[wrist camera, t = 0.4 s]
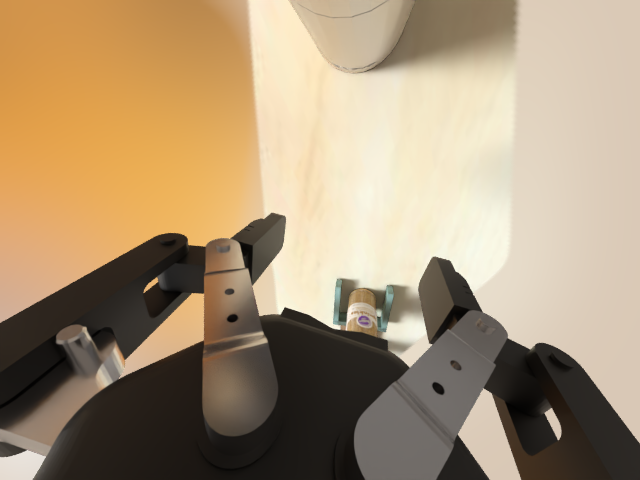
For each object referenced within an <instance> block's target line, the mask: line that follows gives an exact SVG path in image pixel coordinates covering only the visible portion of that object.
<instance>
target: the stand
mask: <svg viewBox="0 0 640 480" xmlns="http://www.w3.org/2000/svg"><path fill="white" fill-rule="evenodd" d="M341 286H342V280H340V279H337V282H336V288H335V303H334V318H333V324H336V325H341V330H346V322H347V314H346V313H339V311H340V298H341ZM393 296H394V292H393V286H388V285H387V289H386V294H385V299H384V304H383V309H382V314H381V318H377V328H378V329H377V331H382V332H386V329H387V324H388V319H389V315H390V310H391V306H392V301H393Z"/></svg>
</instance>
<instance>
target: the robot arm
mask: <svg viewBox="0 0 640 480" xmlns="http://www.w3.org/2000/svg"><path fill="white" fill-rule="evenodd" d="M289 2H290V3H291V5H292V7H293V8H294V10H295V11H296V13H297V15H298V16H299V18H300V20H301V21H302V23H303V24H304V26H305V28H306V29H307V31H308V33H309V34H310V36H311V37H312V39H313V41H314V43H315V44H316V46H317V47H318V49H319V51H320V52H321V54H322V56H323V57H324V58H325V59H326V60H327V61H328V63H330V64H331V65H332V66H334V67H335V68H336V69H339V70H341V71H344V72H349V73H358V72H364V71H367V70H369V69H372V68H374V67H375V66H377V65H378V64H380V63H381V62H382V61H383V60H384V59H385V58H386V57H387V56H388V55H389V54H390V53H391V51H392V50H393V49H394V47H395V46H396V44H397V43H398V40H399V38H400V36H401V34H402V32H403V30H404V27H405V25H406V22H407V20H408V18H409V15H410V13H411V10H412V8H413V5H414V3H415V0H289ZM285 224H286V217H285V216H283V215H279V214H275V213H271V214H270V215H269V216H267V217H266V218H265V219H258V220H255V221H253V222H251V223H250V224H249V225H248V226H246V227H245V228H244V229H242V230H241V231H240V232H238V233H237V234H236V235H234V236H233V237H232V238H230V239H228V238H220V239H215V240H212V241H210V242H209V243H208V244H207V245H206V247H203V246H191V245H188V239H187V237H186V236H184V235H182V234H178V233H167V234H161V235H158V236H156V237H154V238H152V239H150V240H148V241H146V242H145V243H143V244H141V245H139V246H138V247H136V248H134V249H132V250H130V251H129V252H127V253H125V254H123V255H121V256H119V257H118V258H116V259H114V260H112V261H111V262H109V263H107V264H105V265H103V266H102V267H100V268H98V269H96V270H94V271H93V272H91V273H89V274H87V275H85V276H84V277H82V278H80V279H78V280H77V281H75V282H73V283H71V284H70V285H68V286H66V287H64V288H62V289H60V290H59V291H57V292H55V293H53V294H52V295H50V296H48V297H46V298H44V299H43V300H41V301H39V302H37V303H35V304H34V305H32V306H30V307H29V308H26V309H25V310H23V311H21V312H19V313H17V314H16V315H14V316H12V317H10V318H9V319H7V320H5V321H3V322H1V323H0V457H8V456H13V455H16V454H19V453H22V452H24V451H26V450H29V451H32V452H35V453H37V454H40V455H43V456H46V458H45V460H44V462H43V463H42V465H41V467H40V469H39V470H38V472H37V474H36V475H35V477H34V478H33V480H489V478H488V477H487V475H486V474H485V473H484V471H483V470H482V469H481V467H480V465H479V464H478V463H477V461H476V460H475V458H474V457H473V456H472V454H471V453H470V451H469V450H468V448H467V447H466V446H465V444H464V443H463V441H462V440H461V439H460V437H459V436H458V433H459V431H460V429H461V427H462V425H463V424H464V422H465V420H466V418H467V416H468V415H469V413H470V411H471V409H472V408H473V406H474V404H475V402H476V400H477V399H478V397H479V395H480V393H481V391H482V390H483V388H484V389H486V390H487V391H489V392H491V393H492V395H493V398H494V401H495V404H496V407H497V410H498V413H499V416H500V419H501V422H502V425H503V427H504V430H505V433H506V436H507V439H508V442H509V445H510V448H511V451H512V454H513V457H514V459H515V463H516V465H517V468H518V471H519V474H520V477H521V480H640V443H639V442H638V441H637V439H636V438H635V437H634V436H633V434H632V433H631V432H630V430H629V429H628V428H627V426H626V425H625V424H624V422H623V421H622V420H621V418H620V417H619V416H618V414H617V413H616V412H615V410H614V409H613V408H612V406H611V405H610V404H609V402H608V401H607V400H606V398H605V397H604V396H603V394H602V393H601V392H600V390H599V389H598V388H597V387H596V385H595V384H594V382H593V381H592V380H591V378H590V377H589V376H588V374H587V373H586V372H585V370H584V369H583V368H582V367H581V366H580V365H579V364H578V363H577V362H576V361H575V360H574V359H573V358H571V357H570V356H569V355H568V354H566V353H565V352H563V351H561V350H560V349H558V348H556V347H554V346H551V345H549V344H545V343H537V344H536V345H535V346H534V347H533V348H532V349H531V350H530V349H528V348H526V347H524V346H522V345H520V344H518V343H516V342H514V341H512V340H510V339H508V334H507V332H506V330H505V329H504V327H503V326H502V325H501V324H500V323H499V322H498V321H497V320H495V319H494V318H492V317H491V316H489V315H487V314H485V313H483V312H482V310H481V308H480V306H479V304H478V302H477V300H476V298H475V296H474V295H473V293H472V291H471V289H470V287H469V285H468V283H467V281H466V280H465V279H464V278H463V277H462V276H461V275H460V274H459V273H457V272H455V269H454V267H453V265H452V263H451V261H449V260H446V259H442V258H438V257H433V258H432V259H431V260H430V262H429V264H428V266H427V268H426V270H425V272H424V274H423V276H422V278H421V280H420V283H419V288H418V291H419V296H420V301H421V306H422V311H423V316H424V321H425V326H426V330H427V335H428V340H429V343H430V344H433V345H432V346H431V347H430V348H429V349H428V350H427V351H426V352H425V353H424V354H423V355H422V356H421V357H420V358H419V359H418V360H417V361H416V363H414V364H413V365H412V366H411V367H410V368H409V367H408V366H407V364H405V363H404V361H402V360H401V359H400V358H399V357H398V356H396V355H395V354H393V353H392V352H390V351H389V350H388V341H387V340H384V339H381V338H378V337H375V336H372V335H369V334H366V333H363V332H356V331H346V330H336V329H332V328H330V327H329V326H327V325H325V324H323V323H322V322H320V321H318V320H317V319H315V318H313V317H311V316H310V315H307V314H304V313H301V312H298V311H295V310H292V309H288V308H284V310H283V312H282V314H281V315H278V314H271V315H263V316H259V313H258V309H257V305H256V300H255V296H254V292H253V288H252V286H253V284H254V283H255V282H256V281H257V279H258V278H259V277H260V276H261V274H262V273H263V272H264V270H265V269H266V268H267V267H268V265H269V264H270V263H271V262H272V260H273V259H274V258H275V257H276V255H277V254H278V253H279V252H280V250H281V248H282V246H283V242H284V234H285ZM156 277H157V278H158V283H156V284H155V285H154V286H152V287H151V288H150V289H149V290H148V291H146V292H145V293H144V294H143V292H144V289H145V287H146V286H147V285H148V283H149V282H151V281H152V280H153V279H155V278H156ZM191 293H202V294H203V293H204V341H201V342H199V343H197V344H195V345H192V346H190V347H188V348H186V349H183V350H181V351H179V352H177V353H175V354H172V355H170V356H168V357H166V358H164V359H161V360H159V361H157V362H155V363H152V364H150V365H148V366H146V367H144V368H141V369H139V370H137V371H135V372H132V373H130V374H128V375H126V376H124V377H122V378H120V379H118V378H119V377H120V376H121V374H122V372H123V370H124V368H125V359H127V358H128V356H130V354H132V353H133V352H134V350H136V349H137V347H139V346H140V345H141V344H142V342H143V341H144V340H145V339H147V337H149V335H150V334H152V333H153V332H154V331H155V330H156V329H157V328H158V327H159V326H160V324H162V323H163V321H165V320H166V319H167V318H168V316H170V315H171V314H172V313H173V312H174V310H176V309H177V308H178V307H179V306H180V305H181V304H182V303H183V301H185V300H186V299H187V298H188V297H189V296H190V295H191ZM550 408H552V409H553V411H554V413H555V414H556V416H557V418H558V420H559V422H560V425H561V430H562V434H561V438H560V440H557V437H556V436H555V433H554V431H553V429H552V427H551V426H550V423H549V422H548V420H547V418H546V416H545V414H544V413H545V412H546V411H548V410H549V409H550Z"/></svg>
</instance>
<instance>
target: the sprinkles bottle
mask: <svg viewBox="0 0 640 480" xmlns="http://www.w3.org/2000/svg"><path fill="white" fill-rule="evenodd" d="M348 300H349V305H348V311H347V322H346V331H356V332H363V333H366V334H369V335H372V336H375V337H377V329H378V328H377V313H376V297H375V295H374V294H373V293H372V292H371V291H369V290H367V289H356V290H354V291H353V292H351V294H350V295H349V298H348Z"/></svg>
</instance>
